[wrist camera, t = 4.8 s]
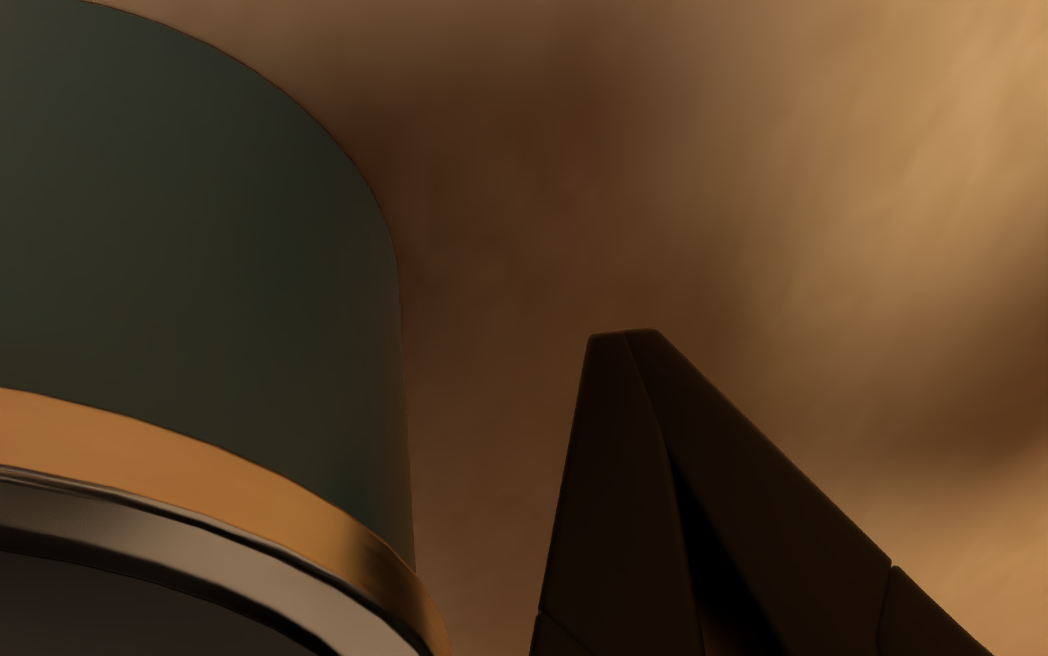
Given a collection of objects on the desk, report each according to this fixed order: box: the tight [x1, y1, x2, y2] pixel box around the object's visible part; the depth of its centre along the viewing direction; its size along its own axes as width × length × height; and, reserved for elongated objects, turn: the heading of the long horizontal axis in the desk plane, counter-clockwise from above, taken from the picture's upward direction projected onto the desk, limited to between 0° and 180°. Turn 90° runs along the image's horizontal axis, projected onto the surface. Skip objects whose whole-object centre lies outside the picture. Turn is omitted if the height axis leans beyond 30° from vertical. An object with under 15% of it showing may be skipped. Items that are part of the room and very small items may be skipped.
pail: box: [0, 0, 451, 656], centre depth 9 cm, size 8×8×6 cm
